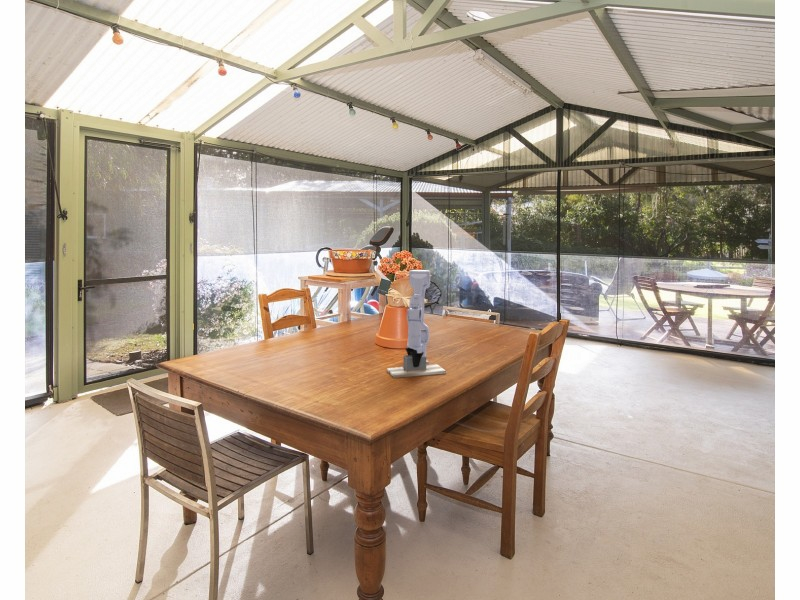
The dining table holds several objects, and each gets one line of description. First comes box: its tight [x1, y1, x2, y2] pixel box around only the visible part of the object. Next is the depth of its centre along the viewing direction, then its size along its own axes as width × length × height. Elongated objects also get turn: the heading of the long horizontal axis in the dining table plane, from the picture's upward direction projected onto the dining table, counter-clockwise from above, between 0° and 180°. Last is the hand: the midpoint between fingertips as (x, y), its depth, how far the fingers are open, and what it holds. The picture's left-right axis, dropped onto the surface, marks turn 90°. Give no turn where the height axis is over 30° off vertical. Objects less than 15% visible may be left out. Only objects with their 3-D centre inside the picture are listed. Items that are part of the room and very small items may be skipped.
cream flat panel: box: [386, 363, 447, 379], centre depth 219 cm, size 11×24×1 cm, turn 107°
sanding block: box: [402, 354, 427, 372], centre depth 218 cm, size 5×9×6 cm, turn 107°
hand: (414, 365), depth 218 cm, fingers closed on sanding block, 5 cm apart
